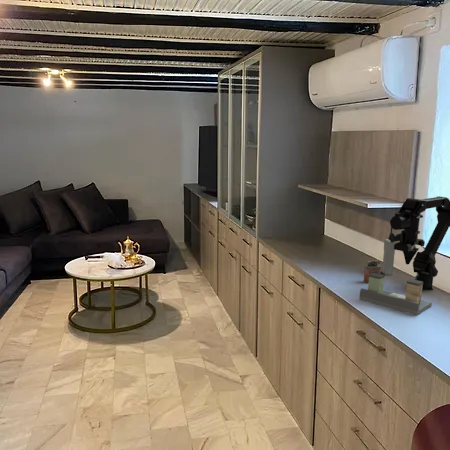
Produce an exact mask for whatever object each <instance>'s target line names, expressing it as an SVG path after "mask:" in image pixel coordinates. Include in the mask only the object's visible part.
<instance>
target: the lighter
mask: <svg viewBox="0 0 450 450" xmlns="http://www.w3.org/2000/svg"><path fill="white" fill-rule="evenodd" d="M380 264H381V261H380V260H373V259H371V260H370V261H369V260H368V261H367V265H364V275H363V281H362V282H363V283H364V284H368V283H369V274H372V273H377V274H381V270H382V265H380Z"/></svg>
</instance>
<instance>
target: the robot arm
mask: <svg viewBox="0 0 450 450" xmlns="http://www.w3.org/2000/svg"><path fill="white" fill-rule="evenodd" d="M433 208H435V211H436V213H437V215H436V219H437V223H436V225H435V228H434V229H433V231H432V233H431V235H430V238H429V239H428V242H427V244H425V240H424V239H421V238H418V237H419V234H420V233H421V231H420V230H419V228H420V221H421V219H422V218H424V215H423V214H422V213H424V212H425V211H426V210H427V209H433ZM389 225H390V228H391V227H392V230H395V231H398V230H399V231H400V230H401V232H400V233H396V232H392V233H391V232H390V233H391V234H390V233H389V236H388V238H387V239H389V240H390V242H391V243H393V242H396V244H394V250H395V251H400V252H402V254H403V256H404V261H405V264H406V265H410V263H411V262H412V267H413V268H412V269H413V270H412V271H413V273H416V275H415V277H414V280H417V281H422V282H423V286H422V290H428V291H429V290H430V291H434V288H433V282H434V278H436V277H437V276H438V273H439V271H438V269H437V267H436V263H437V262H436V261H437V260H436V254H437V252H438V251H439V248H440V246H441V244H442V242H443V241H444V238H445V236H446V235H447V232H448V231H449V228H450V199H449V198H448V197H446V196H440V195H439V196H436V197H427V198H422V199H419V198H414V197H413V198H412V197H408V198H406V199H405V201H404V202H403V203H402V205H401V207H400V208H399V210H398V212H395V213H394V216H392V217H391V219H390V220H389ZM417 246H420V247H421V248H422V247H424V246H425V248H424V249H423V250H422V251H419V250H420V248H417ZM412 260H413V261H412Z"/></svg>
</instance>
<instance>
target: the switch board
mask: <svg viewBox="0 0 450 450" xmlns="http://www.w3.org/2000/svg"><path fill="white" fill-rule="evenodd" d="M405 296H406V295H404V294H400V293H395V292H391V291H387V290H384V289H383V293H379V292H375V291H371V290H368V288H367V289H366V288H360V290H359V298H358V299H359V301H364V302H367V303H370V304H373V305H377V306H381V307H385V308H388V309H392V310H396V311H400V312H403V313H406V314H410V315H414V316H418V315H420V314H422V313H423V312H425V311H427V310H428V309H429V308H432V305H433V302H431V301H427V300H423V299H421V303H418V302H414V301H410V300H406V299H405Z"/></svg>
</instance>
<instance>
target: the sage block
mask: <svg viewBox="0 0 450 450" xmlns="http://www.w3.org/2000/svg"><path fill="white" fill-rule="evenodd" d="M384 282H385V274H381V273H380V274H377V273H372V274H369V283H367V284H368V285H367V290H371V291H375V292H379V293H383V290H384V285H385V283H384Z"/></svg>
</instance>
